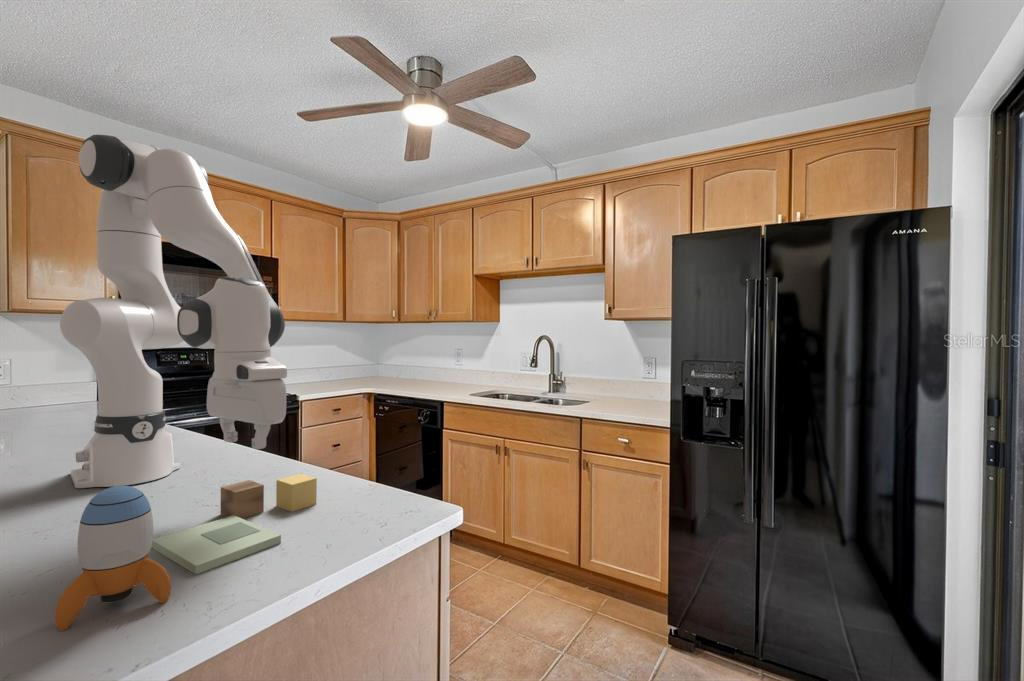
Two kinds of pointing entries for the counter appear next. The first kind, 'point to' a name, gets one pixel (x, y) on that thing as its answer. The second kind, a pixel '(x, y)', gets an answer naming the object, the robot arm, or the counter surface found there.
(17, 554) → the counter surface
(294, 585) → the counter surface
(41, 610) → the counter surface
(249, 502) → the walnut block
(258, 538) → the plate
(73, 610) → the toy rocket
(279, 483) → the ochre block
